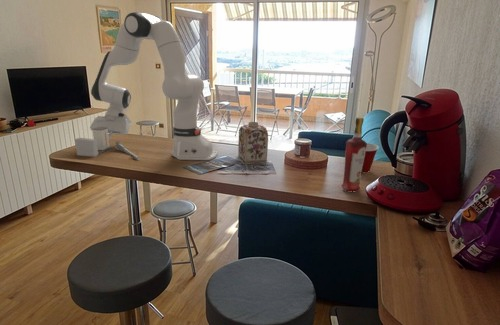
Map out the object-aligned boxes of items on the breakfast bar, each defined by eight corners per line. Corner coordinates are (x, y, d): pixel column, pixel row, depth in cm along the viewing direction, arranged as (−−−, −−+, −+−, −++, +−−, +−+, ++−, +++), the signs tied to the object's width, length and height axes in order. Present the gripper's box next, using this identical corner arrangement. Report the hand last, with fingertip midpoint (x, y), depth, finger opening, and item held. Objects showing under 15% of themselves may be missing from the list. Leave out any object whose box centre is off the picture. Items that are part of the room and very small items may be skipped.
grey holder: (120, 149, 170) (118, 132, 167) (99, 159, 153) (97, 140, 151) (95, 147, 172) (93, 130, 170) (72, 157, 155) (70, 138, 153)
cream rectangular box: (109, 147, 168) (107, 127, 165) (104, 150, 164) (101, 129, 160) (100, 146, 169) (98, 126, 166) (95, 149, 164) (92, 128, 161)
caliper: (116, 152, 166) (115, 140, 164) (118, 151, 167) (117, 139, 165) (138, 160, 154) (137, 148, 152) (140, 160, 155) (139, 147, 153)
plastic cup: (345, 171, 147) (349, 145, 144) (355, 165, 155) (359, 141, 151) (369, 177, 141) (373, 150, 137) (378, 171, 148) (382, 145, 145)
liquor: (350, 185, 131) (359, 115, 122) (364, 191, 125) (375, 119, 116) (336, 188, 127) (344, 116, 119) (350, 195, 121) (360, 120, 113)
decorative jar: (244, 162, 155) (245, 125, 150) (237, 155, 166) (238, 120, 160) (268, 160, 159) (269, 124, 153) (259, 154, 169) (261, 119, 164)
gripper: (93, 112, 173) (83, 134, 167) (128, 114, 170) (120, 137, 164) (99, 119, 179) (90, 141, 173) (133, 121, 176) (126, 143, 169)
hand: (105, 139), depth 168 cm, fingers closed, pressing on cream rectangular box
